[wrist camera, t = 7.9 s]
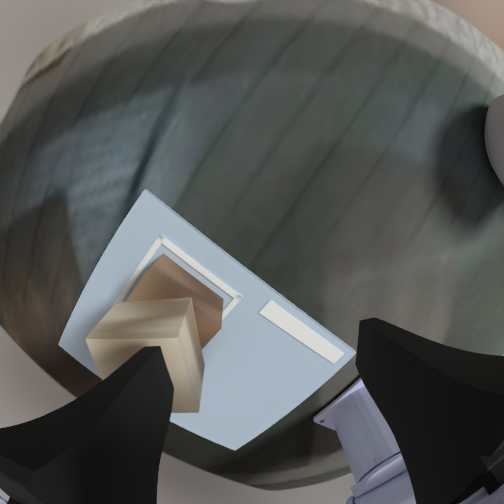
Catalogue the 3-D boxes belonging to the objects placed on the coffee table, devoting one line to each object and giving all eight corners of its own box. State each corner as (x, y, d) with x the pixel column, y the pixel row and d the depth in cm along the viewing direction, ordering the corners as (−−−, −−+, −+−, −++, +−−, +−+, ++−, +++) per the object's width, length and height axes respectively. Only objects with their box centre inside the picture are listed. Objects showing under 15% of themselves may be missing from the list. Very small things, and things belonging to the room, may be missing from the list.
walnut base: (223, 298, 18) (221, 328, 15) (182, 345, 19) (173, 379, 15) (163, 253, 17) (145, 272, 14) (127, 305, 18) (106, 333, 14)
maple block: (191, 297, 14) (177, 337, 10) (204, 364, 15) (199, 412, 11) (116, 302, 14) (85, 338, 10) (136, 365, 15) (117, 409, 11)
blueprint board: (353, 349, 21) (356, 353, 20) (235, 446, 23) (235, 451, 23) (147, 189, 17) (143, 189, 16) (61, 341, 19) (57, 345, 19)
